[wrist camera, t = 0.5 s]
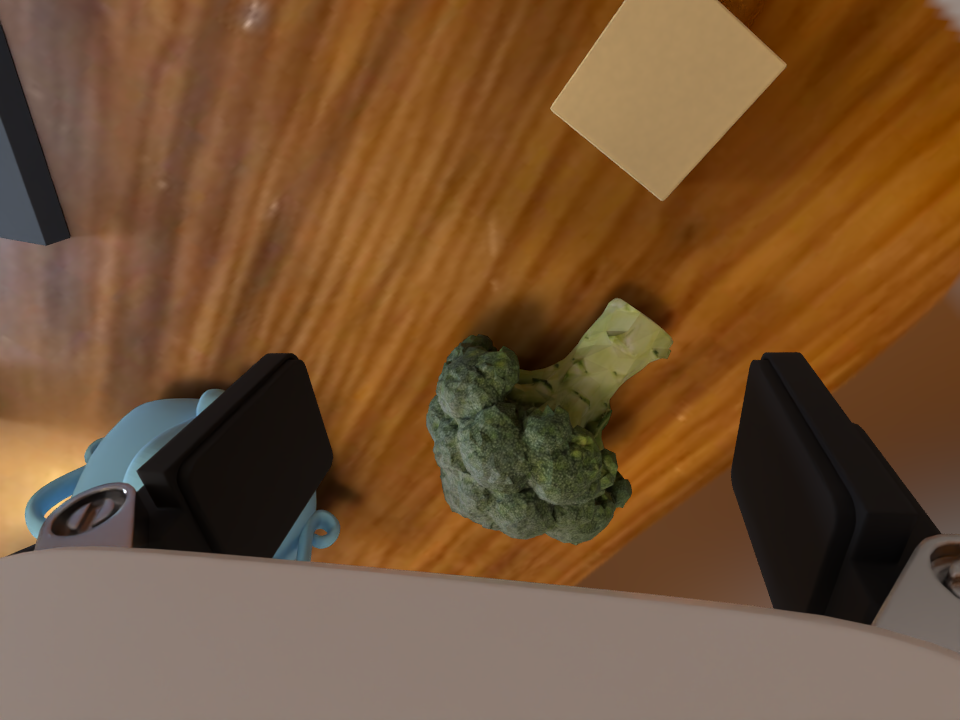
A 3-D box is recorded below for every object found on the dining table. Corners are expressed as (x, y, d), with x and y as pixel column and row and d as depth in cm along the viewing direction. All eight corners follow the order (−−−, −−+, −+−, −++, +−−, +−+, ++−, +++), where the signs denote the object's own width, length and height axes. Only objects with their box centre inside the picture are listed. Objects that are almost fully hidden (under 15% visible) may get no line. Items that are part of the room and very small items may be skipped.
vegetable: (744, 425, 29) (556, 600, 30) (593, 304, 37) (444, 447, 37) (745, 336, 19) (464, 601, 20) (538, 194, 27) (336, 392, 27)
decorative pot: (268, 349, 36) (114, 485, 24) (372, 512, 42) (291, 680, 31) (114, 399, 41) (-70, 529, 30) (228, 536, 48) (113, 686, 36)
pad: (652, -39, 21) (661, -53, 19) (764, 64, 23) (788, 65, 20) (553, 103, 25) (549, 109, 22) (655, 187, 26) (663, 202, 23)
